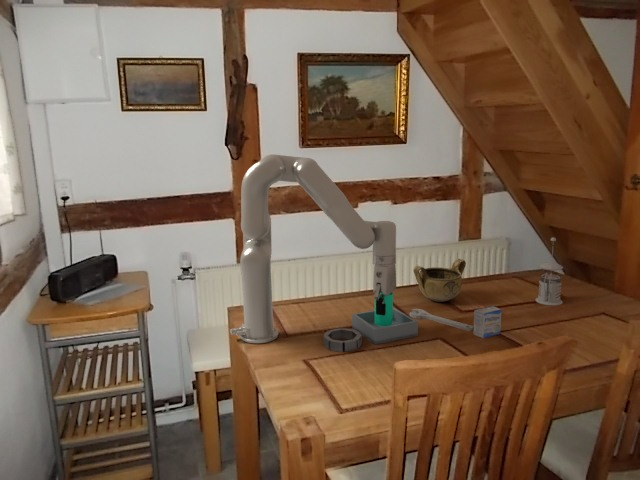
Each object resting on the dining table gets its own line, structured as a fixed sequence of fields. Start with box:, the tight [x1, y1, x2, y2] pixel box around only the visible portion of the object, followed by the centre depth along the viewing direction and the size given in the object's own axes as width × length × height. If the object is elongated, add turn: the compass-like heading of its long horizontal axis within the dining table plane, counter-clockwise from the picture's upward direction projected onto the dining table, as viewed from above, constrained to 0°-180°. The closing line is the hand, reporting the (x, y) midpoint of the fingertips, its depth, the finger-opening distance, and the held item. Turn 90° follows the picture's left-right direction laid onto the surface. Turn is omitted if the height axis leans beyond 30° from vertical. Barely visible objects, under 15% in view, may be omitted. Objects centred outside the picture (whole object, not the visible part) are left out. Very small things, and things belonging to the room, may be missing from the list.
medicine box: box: [473, 305, 502, 340], centre depth 184 cm, size 8×4×9 cm, turn 117°
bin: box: [351, 306, 419, 345], centre depth 188 cm, size 16×16×5 cm
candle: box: [374, 292, 394, 326], centre depth 186 cm, size 6×6×12 cm
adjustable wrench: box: [409, 308, 474, 332], centre depth 196 cm, size 25×6×2 cm, turn 41°
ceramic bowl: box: [413, 258, 467, 303], centre depth 218 cm, size 22×17×15 cm
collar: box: [322, 327, 363, 353], centre depth 179 cm, size 12×12×3 cm
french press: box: [534, 237, 564, 306], centre depth 212 cm, size 10×12×25 cm
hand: (384, 311), depth 187 cm, fingers closed on candle, 5 cm apart
